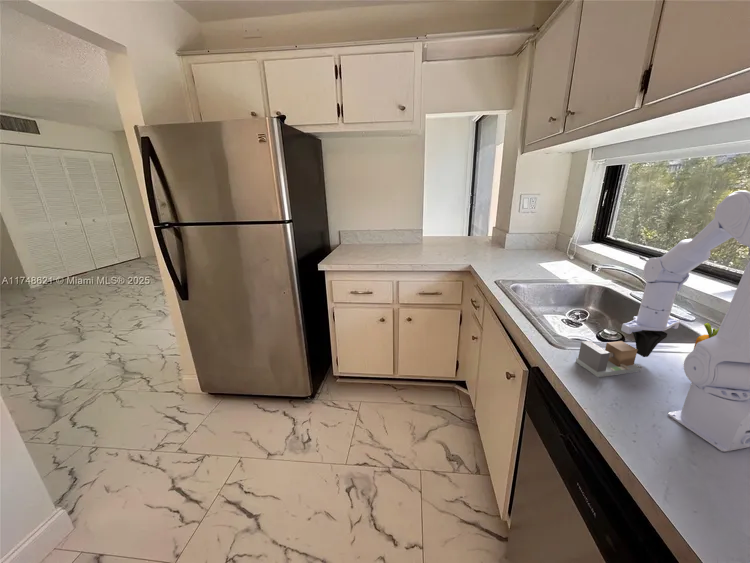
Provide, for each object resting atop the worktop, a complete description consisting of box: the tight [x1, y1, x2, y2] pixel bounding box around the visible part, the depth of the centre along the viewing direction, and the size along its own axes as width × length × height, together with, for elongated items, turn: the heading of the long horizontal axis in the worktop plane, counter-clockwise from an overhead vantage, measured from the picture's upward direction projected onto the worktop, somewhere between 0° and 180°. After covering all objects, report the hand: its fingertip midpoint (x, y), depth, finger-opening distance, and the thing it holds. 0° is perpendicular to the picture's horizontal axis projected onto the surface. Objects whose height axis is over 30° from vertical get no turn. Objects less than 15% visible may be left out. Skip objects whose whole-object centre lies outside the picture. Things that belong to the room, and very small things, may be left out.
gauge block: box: [604, 340, 638, 370], centre depth 78 cm, size 6×6×4 cm
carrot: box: [693, 322, 720, 349], centre depth 71 cm, size 5×5×15 cm
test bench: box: [575, 340, 642, 378], centre depth 79 cm, size 7×12×6 cm, turn 99°
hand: (642, 354), depth 80 cm, fingers closed
